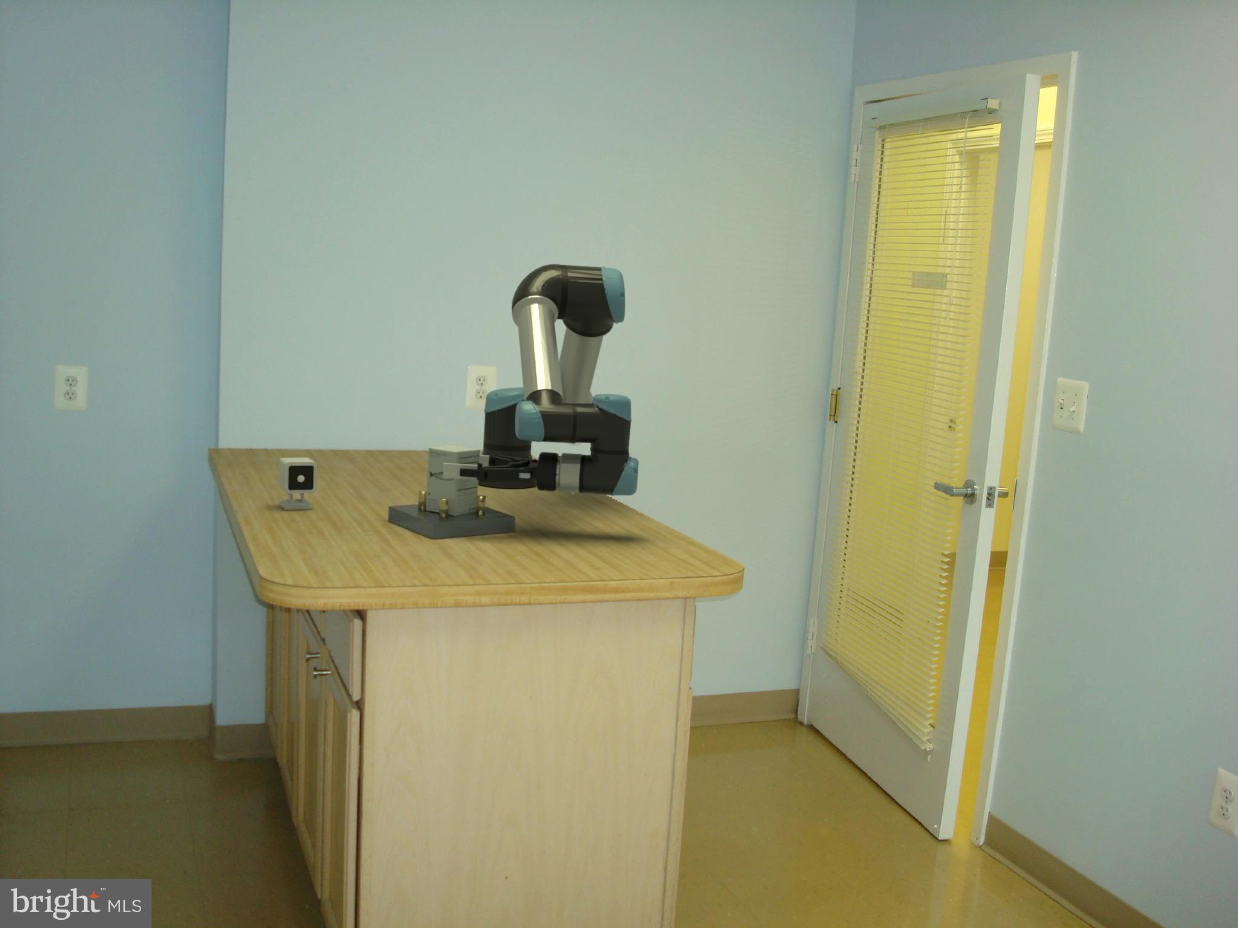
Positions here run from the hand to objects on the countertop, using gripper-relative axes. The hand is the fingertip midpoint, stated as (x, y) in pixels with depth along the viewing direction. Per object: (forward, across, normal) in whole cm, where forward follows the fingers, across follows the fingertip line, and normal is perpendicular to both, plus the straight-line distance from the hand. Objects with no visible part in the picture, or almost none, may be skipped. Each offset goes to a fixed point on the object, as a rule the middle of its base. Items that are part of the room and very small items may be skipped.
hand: (449, 465), depth 225 cm
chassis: (-1, 0, -12) cm, 12 cm away
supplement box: (-1, 0, -9) cm, 9 cm away
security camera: (+33, +9, -12) cm, 36 cm away
